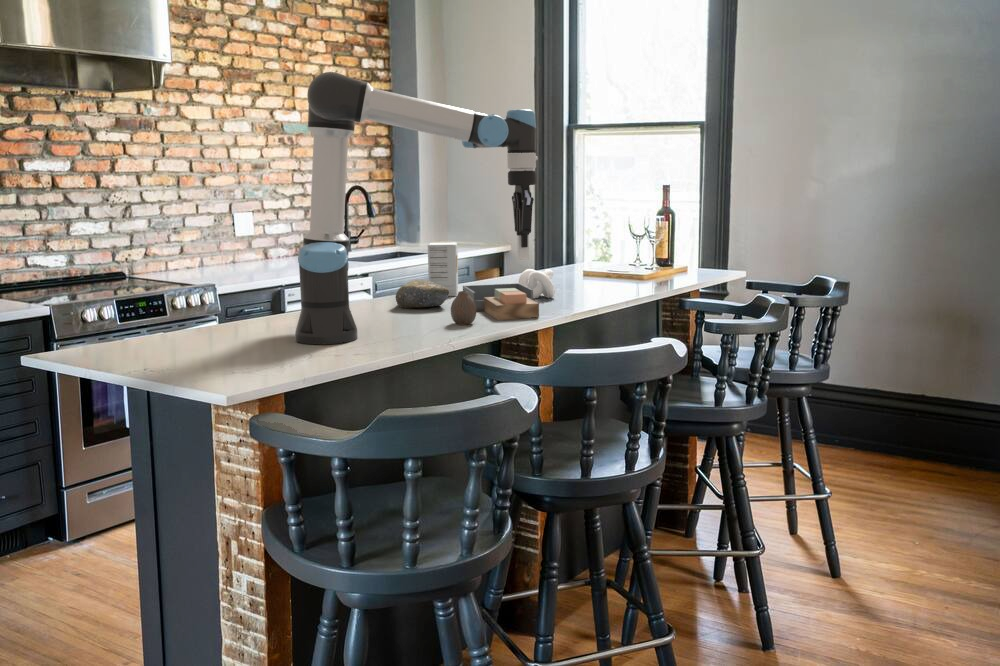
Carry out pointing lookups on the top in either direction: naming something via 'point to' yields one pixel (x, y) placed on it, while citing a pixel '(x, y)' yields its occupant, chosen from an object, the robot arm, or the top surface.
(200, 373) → the top surface
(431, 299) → the stone
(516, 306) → the wooden block
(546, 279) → the white knot sculpture
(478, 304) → the box
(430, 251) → the supplement box
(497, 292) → the tile
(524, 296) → the tile
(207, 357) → the top surface
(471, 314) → the vase
